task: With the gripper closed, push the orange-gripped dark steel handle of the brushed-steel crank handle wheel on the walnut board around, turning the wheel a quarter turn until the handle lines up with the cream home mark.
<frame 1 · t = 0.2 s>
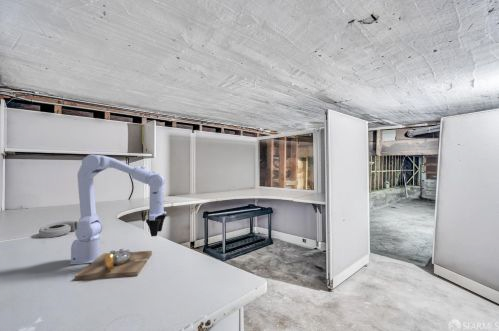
hand: (156, 233, 104), 10 cm above the table, tool pointing down, fingers open, 7 cm apart
walnut board: (118, 265, 94), on the table
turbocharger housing: (57, 234, 141), on the table
crank handle wheel: (115, 256, 91), point 5 cm above the table, hinge at 0.0°
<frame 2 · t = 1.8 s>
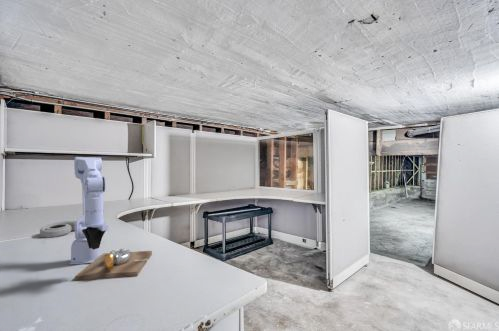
hand: (94, 248, 87), 9 cm above the table, tool pointing down, fingers closed
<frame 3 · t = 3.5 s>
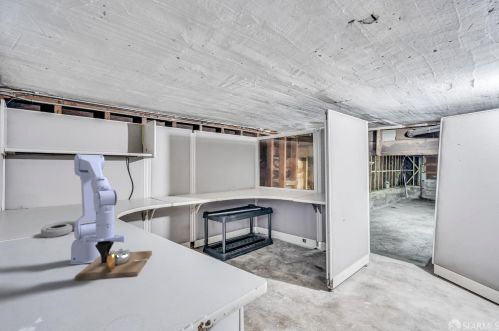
hand: (105, 262, 86), 5 cm above the table, tool pointing down, fingers closed
crank handle wheel: (115, 256, 91), point 5 cm above the table, hinge at 3.1°, touching gripper
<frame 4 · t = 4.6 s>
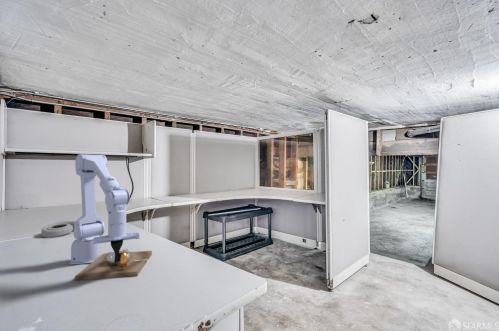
hand: (117, 261, 86), 5 cm above the table, tool pointing down, fingers closed, pressing on crank handle wheel
crank handle wheel: (120, 256, 92), point 5 cm above the table, hinge at 28.3°, touching gripper
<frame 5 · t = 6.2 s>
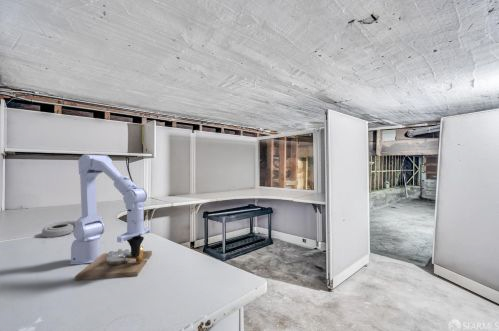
hand: (135, 256, 91), 5 cm above the table, tool pointing down, fingers closed, pressing on crank handle wheel
crank handle wheel: (125, 254, 94), point 5 cm above the table, hinge at 71.0°, touching gripper
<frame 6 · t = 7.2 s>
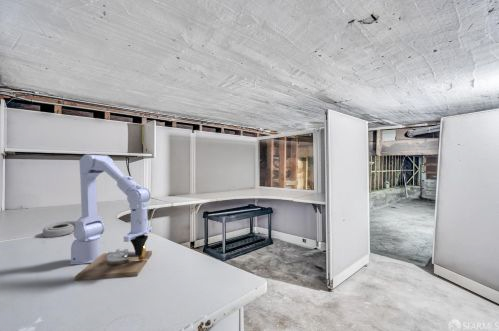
hand: (138, 255, 93), 5 cm above the table, tool pointing down, fingers closed
crank handle wheel: (126, 253, 95), point 5 cm above the table, hinge at 84.3°, touching gripper
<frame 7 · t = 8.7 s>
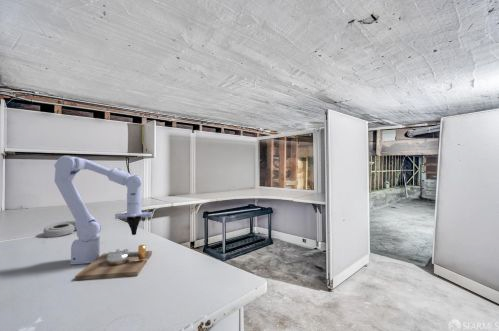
hand: (134, 234, 105), 9 cm above the table, tool pointing down, fingers closed
crank handle wheel: (126, 253, 95), point 5 cm above the table, hinge at 84.3°
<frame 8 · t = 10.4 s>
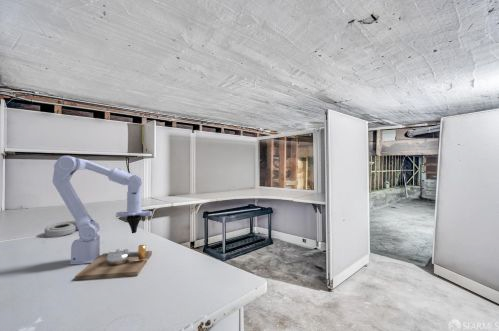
hand: (134, 232, 108), 9 cm above the table, tool pointing down, fingers closed
at the end: crank handle wheel at +84° (first picture: +0°) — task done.
